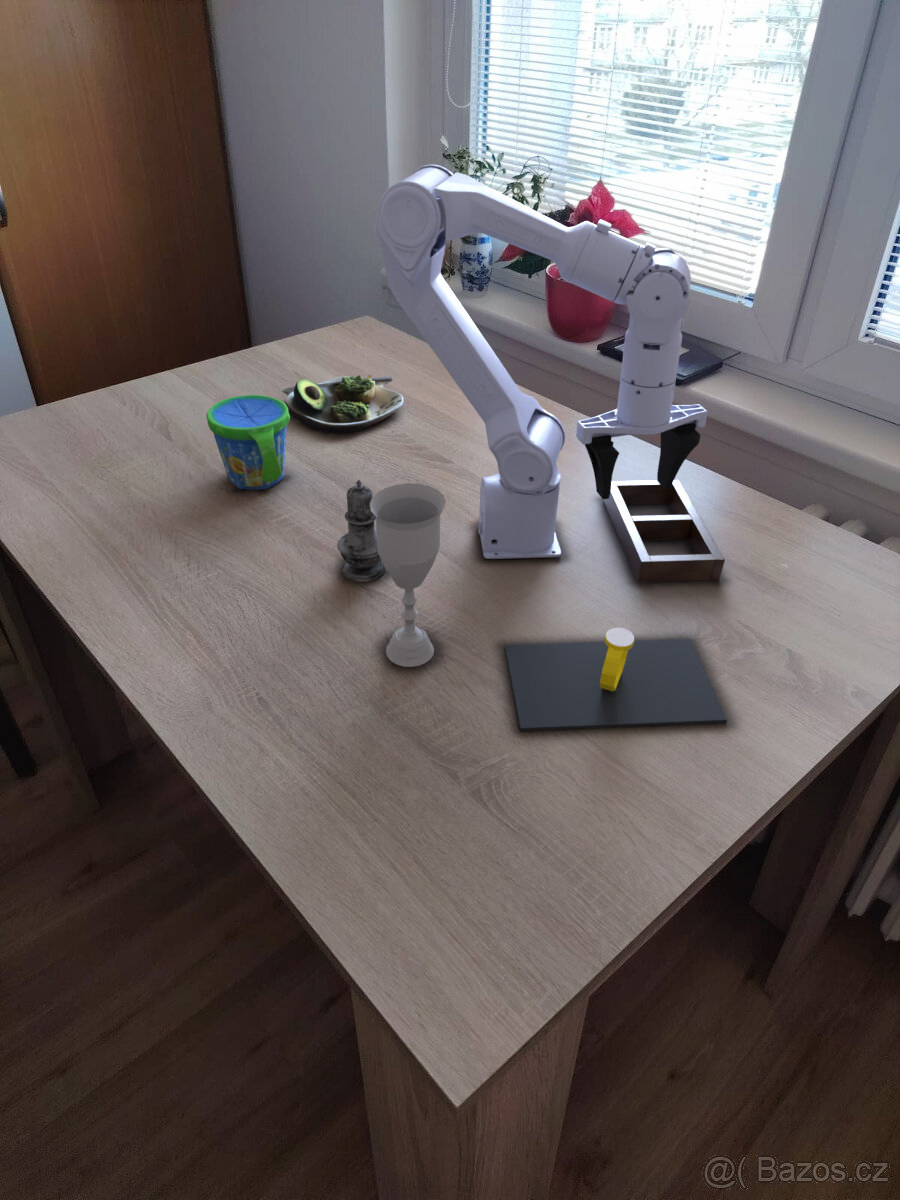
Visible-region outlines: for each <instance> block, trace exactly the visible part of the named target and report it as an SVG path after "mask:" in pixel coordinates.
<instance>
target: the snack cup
mask: <svg viewBox="0 0 900 1200" xmlns="http://www.w3.org/2000/svg"><path fill="white" fill-rule="evenodd" d="M289 412H290V411H289V408H288V407H287V405H286V402H284V401H282V400H281V399H278V398H277V397H276V398H275V397H273V396H269V395H263V394H262V395H261V394H244V395H236V396H232V397H228V398H225V399H222V400H220V401H218V402H216V403H214V404H213V405H212V406H211V407H210V408H209V409H208V411H207V412H206V414H205V417H206V421H207V425H208V426H207V427H208V428H209V430H210V431H211V432H212V433H213V436H214V440H215V443H216V446H217V449H218V452H219V455H220V458H221V461H222V463H223V467H224V471H225V473H226V475H227V478H228V480H229V482H230V483H231V484H232V485H234V486H236V488H238V489H239V490H243V489H245V490H246V489H247V490H251V491H256V490H257V491H259V490H267V489H269V488H270V487H273V486H275V485H276V484H278V483H279V482H280V481H281V480H282V479H284V476H285V465H286V448H287V426H288V425H289V422H290V420H291V415H290V413H289Z"/></svg>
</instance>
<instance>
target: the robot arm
mask: <svg viewBox="0 0 900 1200" xmlns="http://www.w3.org/2000/svg"><path fill="white" fill-rule="evenodd" d="M611 228H612V224H611V223H610V222H608V221H606V220H603V219H599V220H598V222H597V224H595V223H592V222H590V221H588V220H585V221H583V222H580V223H579V224H576V225H574V226H569V227H568V226H566V225H564V224H562V223H561V222H558V221H556V220H554V219H552V218H550V217H548V216H546V215H545V214H542V213H540V212H538V211H537V210H534V209H533V208H530V207H529V206H527V205H524V204H523V203H521V202H518V201H517V200H515V199H513V198H511V197H510V196H507V195H505V194H503V193H501V192H499V191H497V190H496V189H493V188H491V187H490V186H488V185H486V184H484V183H482V182H480V181H478V180H477V179H475V178H473V177H471V176H470V175H468V174H464V173H460V172H456V171H455V172H454V173H453V172H452V171H451V170H449V169H448V168H446V167H444V166H442V165H439V164H432V163H431V164H426V165H422V166H420V167H418V168H417V169H416V170H414V171H413V172H412V173H411V174H410V175H409V176H407V177H406V178H404V179H403V180H401V181H397V182H395V183H394V184H392V185H391V186H389V187H388V188H387V189H386V190H385V191H384V193H383V194H382V196H381V199H380V200H379V205H378V209H377V214H376V218H375V224H374V229H373V233H374V235H375V236H376V239H378V241H379V243H380V246H381V251H382V256H383V257H382V258H383V262H384V268H385V274H386V279H387V285H388V288H389V290H390V292H391V294H392V295H393V297H394V299H396V301H397V302H398V304H399V305H400V307H401V308H402V310H403V311H404V313H405V314H406V315H407V316H408V318H409V320H410V321H411V322H412V324H413V325H414V326H415V328H416V329H417V331H418V332H419V333H420V335H421V336H422V338H423V339H424V341H426V343H427V344H428V346H429V347H430V349H431V350H432V351H433V353H434V354H435V356H436V357H437V358H438V360H439V361H440V362H441V364H442V365H443V367H444V368H445V370H446V371H447V372H448V374H449V375H450V376H451V378H452V379H453V381H454V382H455V384H456V385H457V386H458V388H459V389H460V390H461V392H462V394H463V395H464V396H465V398H466V399H467V400H468V402H469V403H470V405H471V406H472V408H473V409H474V410H475V411H476V413H477V415H478V416H479V417H480V418H481V420H482V421H483V423H484V426H485V433H486V437H487V444H488V449H489V450H490V452H491V453H492V454H493V456H494V458H495V460H496V463H497V468H498V469H497V470H498V473H496V474H493V475H489V476H484V477H481V481H480V492H479V510H478V511H479V512H478V513H479V514H478V515H479V516H478V519H477V532H478V535H479V538H480V542H481V549H482V553H483V558H484V559H487V560H500V559H537V558H540V559H541V558H542V559H543V558H561V556H562V550H561V546H560V543H559V539H558V537H557V533H556V522H557V513H558V508H559V507H558V506H559V497H560V490H561V489H560V488H561V480H562V475H561V472H560V469H559V468H558V466H557V461H558V458H559V455H560V453H561V451H562V450H563V447H564V445H565V441H566V431H565V428H564V425H563V423H562V422H561V420H559V418H557V417H556V416H555V415H554V414H552V413H550V412H549V411H547V410H546V409H544V408H543V407H542V406H541V405H540V403H539V401H537V399H536V397H533V396H530V395H528V394H526V393H523V392H522V391H521V389H520V388H519V387H518V385H517V384H516V382H515V381H514V379H513V378H512V377H511V375H510V373H509V372H508V371H507V369H506V368H505V366H504V365H503V363H502V362H501V360H500V359H499V358H498V356H497V355H496V353H495V352H494V350H493V348H492V347H491V346H490V344H489V343H488V341H487V340H486V339H485V337H484V336H483V334H482V333H481V331H480V330H479V328H478V327H477V325H476V324H475V322H474V321H473V320H472V318H471V316H470V315H469V313H468V312H467V311H466V309H465V308H464V306H463V305H462V303H461V302H460V300H459V299H458V298H457V296H456V295H455V293H454V292H453V290H452V289H451V287H450V286H449V284H448V283H447V282H446V280H445V279H444V277H443V275H442V272H441V270H442V267H443V261H444V256H445V250H446V245H447V242H448V241H453V240H456V239H461V238H465V237H468V236H472V235H475V234H483V235H485V236H488V237H491V238H492V239H496V240H498V241H501V242H503V243H506V244H509V245H511V246H514V247H516V248H519V249H522V250H523V251H528V252H529V253H532V254H534V255H537V256H540V257H542V258H545V259H547V260H550V261H552V262H553V263H554V264H555V267H556V268H557V271H558V273H559V277H560V279H562V280H563V281H565V282H568V283H569V284H572V285H575V286H576V287H579V288H581V289H583V290H585V291H587V292H590V293H592V294H594V295H596V296H598V297H601V298H603V299H605V300H608V301H610V302H612V303H614V304H617V305H623V306H624V305H625V306H626V308H627V312H628V313H629V321H628V328H627V330H626V332H625V335H624V343H623V344H624V345H623V352H622V362H621V371H620V380H619V387H618V388H619V389H618V396H617V405H616V406H617V407H616V409H613V410H610V411H607V412H605V413H602V414H598V415H596V416H593V417H590V418H585V419H581V420H577V422H576V435H575V437H576V438H577V440H578V441H579V442H580V443H581V444H582V445H584V447H585V450H586V451H587V454H588V457H589V459H590V463H591V467H592V470H593V475H594V481H595V490H596V493H597V494H598V495H599V496H600V498H601V499H602V500H603V499H609V496H610V492H611V483H612V481H613V474H614V470H615V466H616V463H617V461H618V458H619V456H620V452H619V451H618V450H617V449H616V448H615V446H614V441H612V438H617V437H625V436H631V435H635V436H636V435H637V436H640V435H641V436H648V435H649V436H650V435H657V434H660V448H659V449H660V450H659V451H660V452H659V460H658V465H657V471H656V472H657V473H656V480H657V482H658V483H659V484H660V485H661V486H662V487H663V488H664V489H665V490H666V489H670V488H671V486H672V483H673V481H674V480H676V477H677V475H678V473H679V470H681V469H680V468H681V467H682V465H683V464H684V462H685V461H686V459H687V458H688V456H689V455H690V454H691V453H692V452H693V450H694V449H695V448H696V447H697V446H699V444H700V440H701V434H700V432H698V430H696V429H701V428H705V427H706V423H707V418H708V413H709V412H708V410H707V409H705V408H704V407H703V406H702V405H701V404H699V403H697V404H673V401H674V394H675V387H676V380H677V374H678V370H679V369H678V368H679V362H680V356H681V349H682V343H683V334H682V330H683V328H684V323H685V317H684V315H685V314H686V313H687V310H688V309H689V305H690V301H691V300H690V298H689V297H690V291H691V283H692V277H691V276H692V275H691V271H690V267H689V265H688V263H687V262H686V260H685V259H684V258H683V257H681V256H680V255H679V254H677V253H675V251H674V250H673V249H672V248H657V247H656V245H654V244H652V243H650V242H646V244H645V246H644V245H642V244H640V243H637V242H635V241H633V240H630V239H629V238H627V237H624V236H623V235H622V236H621V235H619V234H617V233H615V232H613V231H611Z"/></svg>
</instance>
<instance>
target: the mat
mask: <svg viewBox="0 0 900 1200" xmlns="http://www.w3.org/2000/svg"><path fill="white" fill-rule="evenodd" d="M608 648H609V647H608V646H607V645H606V644H605V641H581V642H580V641H579V642H578V641H577V642H576V641H575V642H553V643H552V642H547V643H521V644H519V643H518V644H517V643H516V644H515V643H514V644H504V651H505V657H506V662H507V663H506V664H507V668H508V673H509V679H510V683H511V689H512V693H513V700H514V705H515V710H516V715H517V721H518V727H519V731H520V732H529V731H531V732H532V731H551V730H552V731H553V730H554V731H555V730H577V729H578V730H581V729H599V728H601V729H604V728H606V729H607V728H626V727H627V728H629V727H630V728H631V727H651V726H652V727H653V726H676V725H702V724H704V725H705V724H723V723H725V724H726V723H727V722H728V718H727V716H726V713H725V712H724V710H723V707H722V705H721V703H720V701H719V698H718V696H717V694H716V691H715V690H714V688H713V686H712V683H711V682H710V679H709V677H708V675H707V672H706V671H705V669H704V667H703V664H702V662H701V660H700V657H699V655H698V653H697V650H696V649H695V647H694V644H693V642H692V640H691V638H672V639H671V638H670V639H669V638H667V639H641V640H640V639H639V640H635V639H634V644H633V646H632V648H631V649H629V650H628V653H627V657H626V661H625V664H624V668H623V672H622V674H621V676H620V679H619V682H618V684H617V687H616V690H615V691H610V690H606V689H603V688H601V687H600V680H601V674H602V670H603V666H604V662H605V658H606V654H607V651H608Z"/></svg>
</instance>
